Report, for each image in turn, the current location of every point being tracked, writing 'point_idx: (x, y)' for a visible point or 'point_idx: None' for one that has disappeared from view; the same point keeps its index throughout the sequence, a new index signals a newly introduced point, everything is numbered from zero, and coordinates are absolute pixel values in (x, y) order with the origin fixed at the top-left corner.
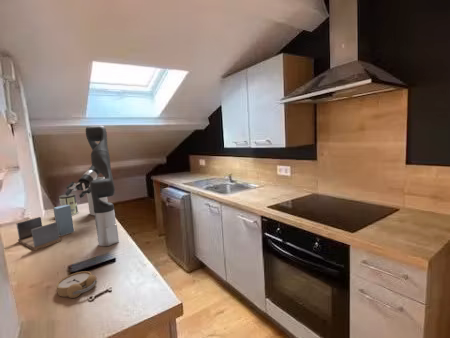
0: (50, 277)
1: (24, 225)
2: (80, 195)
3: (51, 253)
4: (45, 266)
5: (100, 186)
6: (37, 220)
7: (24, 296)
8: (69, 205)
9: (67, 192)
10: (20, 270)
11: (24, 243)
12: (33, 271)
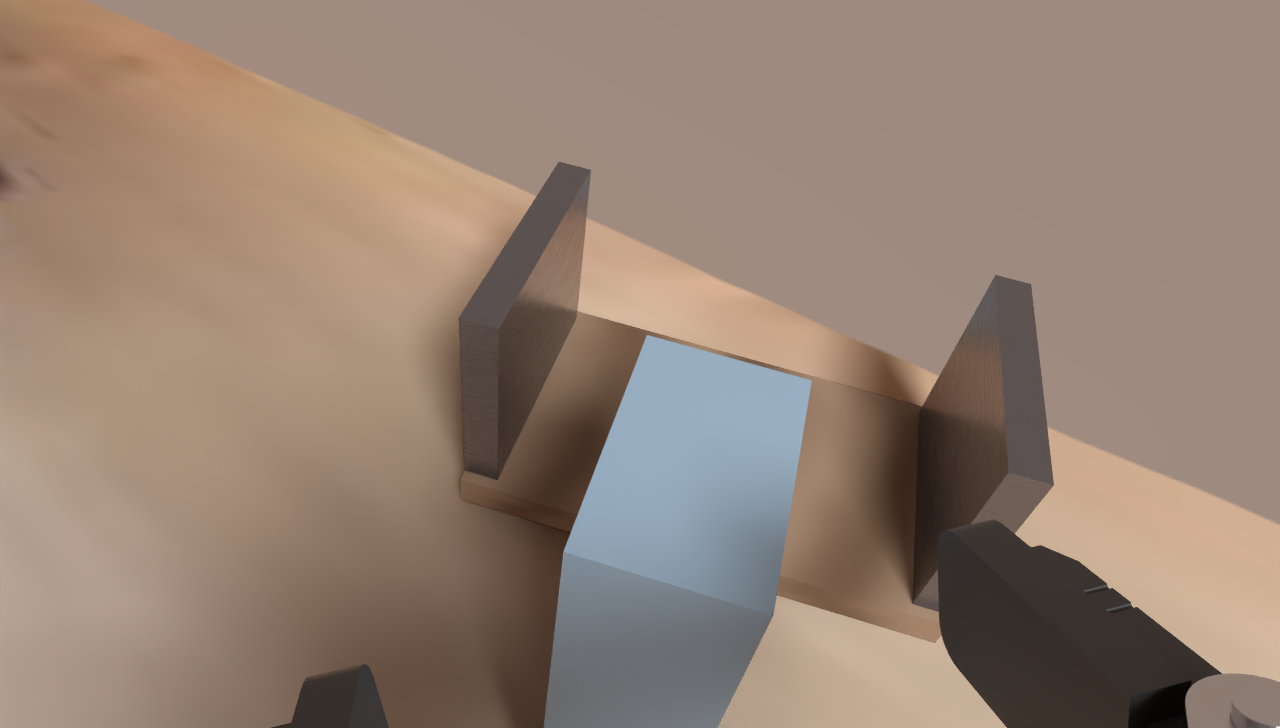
0: (66, 103)
1: (978, 354)
2: (312, 687)
3: (322, 296)
4: (207, 173)
5: None
6: (989, 455)
7: (106, 22)
8: (575, 541)
9: (976, 552)
10: (359, 143)
11: None
12: (250, 138)
